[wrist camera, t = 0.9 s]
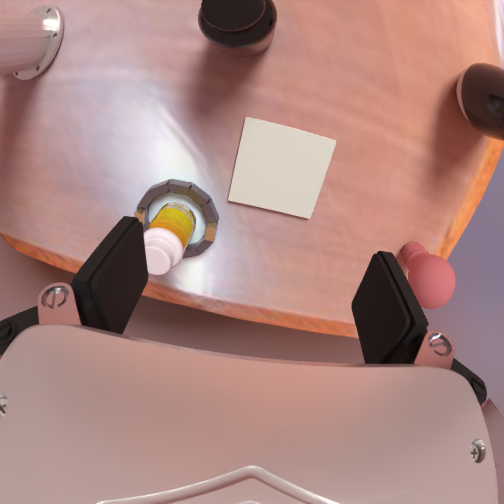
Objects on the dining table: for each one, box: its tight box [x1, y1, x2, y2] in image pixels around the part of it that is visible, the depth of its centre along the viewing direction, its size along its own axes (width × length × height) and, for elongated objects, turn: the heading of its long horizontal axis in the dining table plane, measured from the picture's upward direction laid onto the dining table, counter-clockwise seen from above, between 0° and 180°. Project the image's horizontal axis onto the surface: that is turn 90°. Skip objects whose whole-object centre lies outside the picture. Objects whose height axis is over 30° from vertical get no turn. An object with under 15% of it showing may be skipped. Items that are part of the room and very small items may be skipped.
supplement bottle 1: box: [144, 202, 196, 275], centre depth 34 cm, size 6×6×10 cm
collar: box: [135, 179, 219, 259], centre depth 37 cm, size 11×11×2 cm
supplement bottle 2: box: [198, 0, 277, 57], centre depth 19 cm, size 7×7×12 cm
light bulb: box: [402, 242, 455, 309], centre depth 34 cm, size 7×7×12 cm
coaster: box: [228, 117, 336, 219], centre depth 33 cm, size 11×11×1 cm
